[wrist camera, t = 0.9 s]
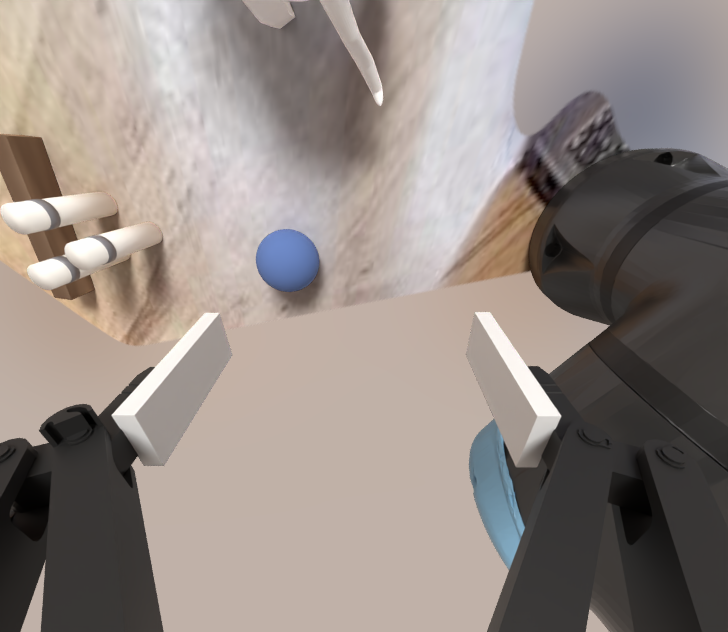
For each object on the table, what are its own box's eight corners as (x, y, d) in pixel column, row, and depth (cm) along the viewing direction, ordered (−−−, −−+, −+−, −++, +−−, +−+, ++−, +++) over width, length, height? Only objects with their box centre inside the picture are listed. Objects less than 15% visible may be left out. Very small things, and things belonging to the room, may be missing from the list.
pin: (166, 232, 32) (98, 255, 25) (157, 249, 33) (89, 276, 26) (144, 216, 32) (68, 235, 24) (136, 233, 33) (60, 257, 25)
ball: (336, 250, 32) (324, 269, 26) (303, 289, 34) (287, 313, 29) (289, 210, 30) (267, 222, 25) (259, 253, 33) (233, 273, 27)
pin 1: (121, 202, 31) (36, 218, 24) (113, 221, 32) (29, 241, 25) (97, 185, 31) (2, 195, 23) (90, 204, 32) (-3, 220, 24)
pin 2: (133, 249, 34) (59, 276, 26) (126, 265, 35) (52, 295, 27) (112, 234, 33) (29, 257, 26) (105, 250, 34) (24, 278, 27)
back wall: (41, 137, 29) (5, 135, 26) (94, 289, 37) (71, 299, 34) (21, 134, 29) (-17, 133, 26) (78, 287, 37) (54, 297, 34)
